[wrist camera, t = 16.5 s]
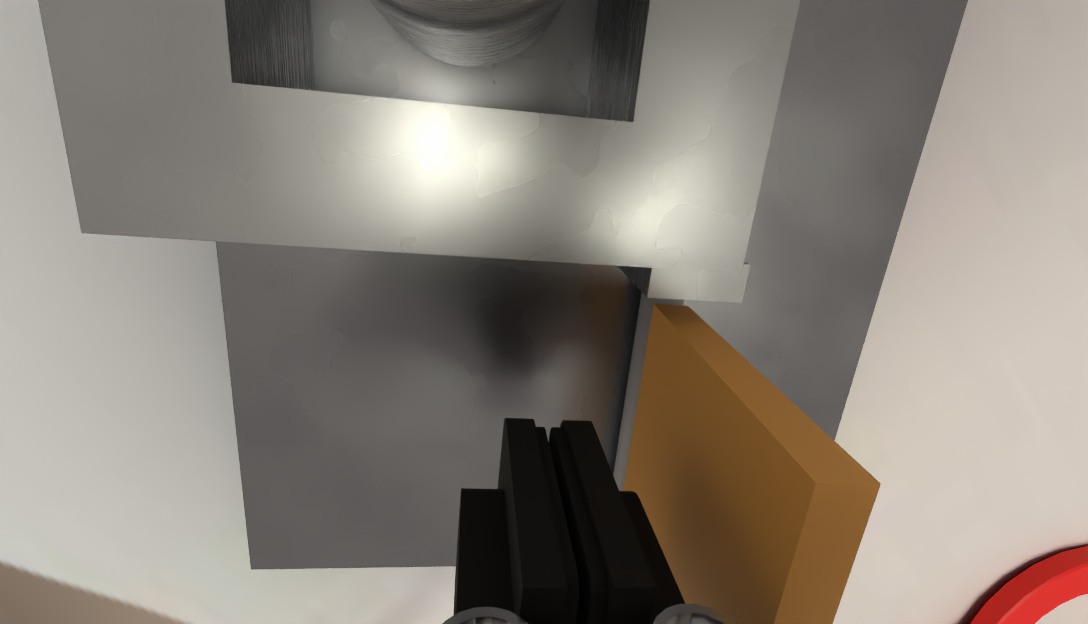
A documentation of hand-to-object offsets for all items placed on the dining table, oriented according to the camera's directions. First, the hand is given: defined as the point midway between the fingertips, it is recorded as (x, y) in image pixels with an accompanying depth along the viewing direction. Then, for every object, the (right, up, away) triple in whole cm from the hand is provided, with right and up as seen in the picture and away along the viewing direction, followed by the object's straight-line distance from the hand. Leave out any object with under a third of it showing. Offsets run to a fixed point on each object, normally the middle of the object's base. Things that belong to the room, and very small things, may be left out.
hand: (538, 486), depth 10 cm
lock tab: (+3, 0, +4) cm, 4 cm away
